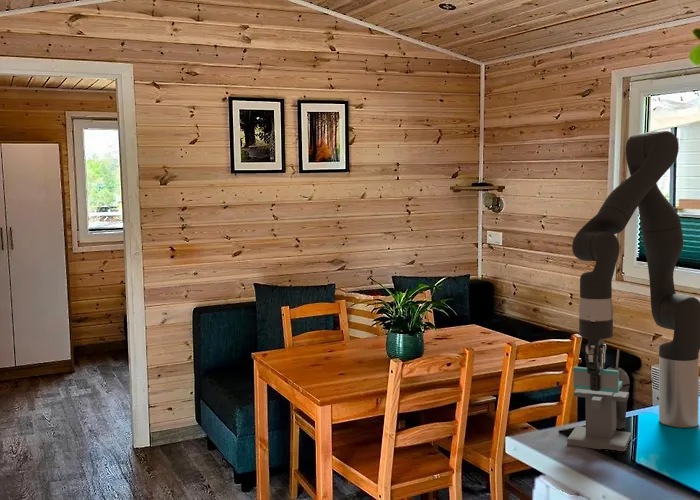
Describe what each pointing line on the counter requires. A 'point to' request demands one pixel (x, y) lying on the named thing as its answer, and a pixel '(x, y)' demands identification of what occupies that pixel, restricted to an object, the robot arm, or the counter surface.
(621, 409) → the beverage cup
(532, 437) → the counter surface
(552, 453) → the counter surface
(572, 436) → the stand
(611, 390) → the teal c-shaped bracket
